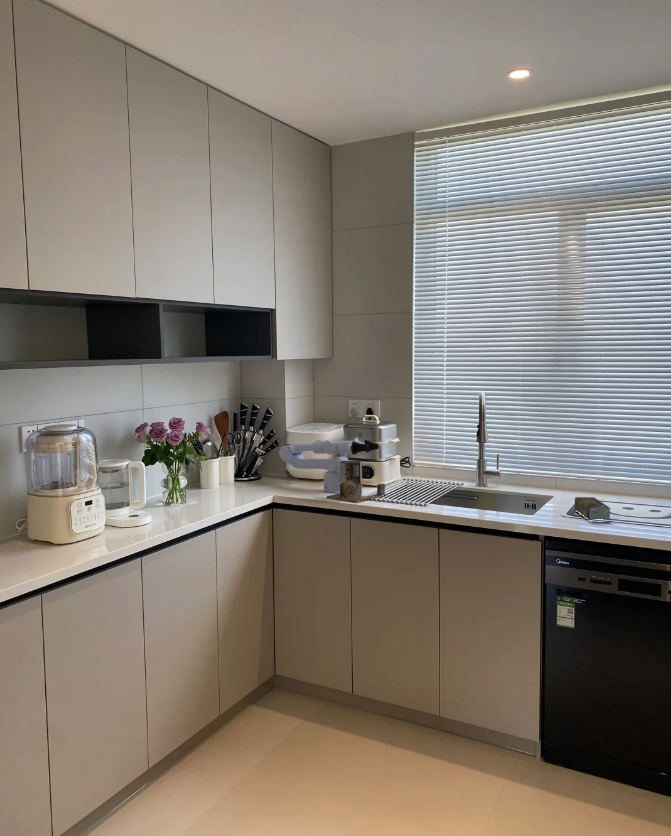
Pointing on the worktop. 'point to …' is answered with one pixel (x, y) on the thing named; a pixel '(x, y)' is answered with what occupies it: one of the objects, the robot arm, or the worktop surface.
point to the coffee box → (351, 479)
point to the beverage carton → (592, 508)
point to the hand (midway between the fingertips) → (373, 447)
